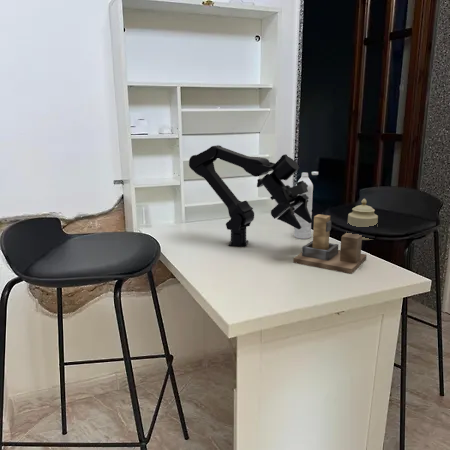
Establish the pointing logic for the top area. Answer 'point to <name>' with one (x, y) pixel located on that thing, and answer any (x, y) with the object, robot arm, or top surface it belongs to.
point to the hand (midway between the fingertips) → (305, 225)
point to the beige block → (321, 232)
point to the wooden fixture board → (334, 255)
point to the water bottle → (305, 226)
